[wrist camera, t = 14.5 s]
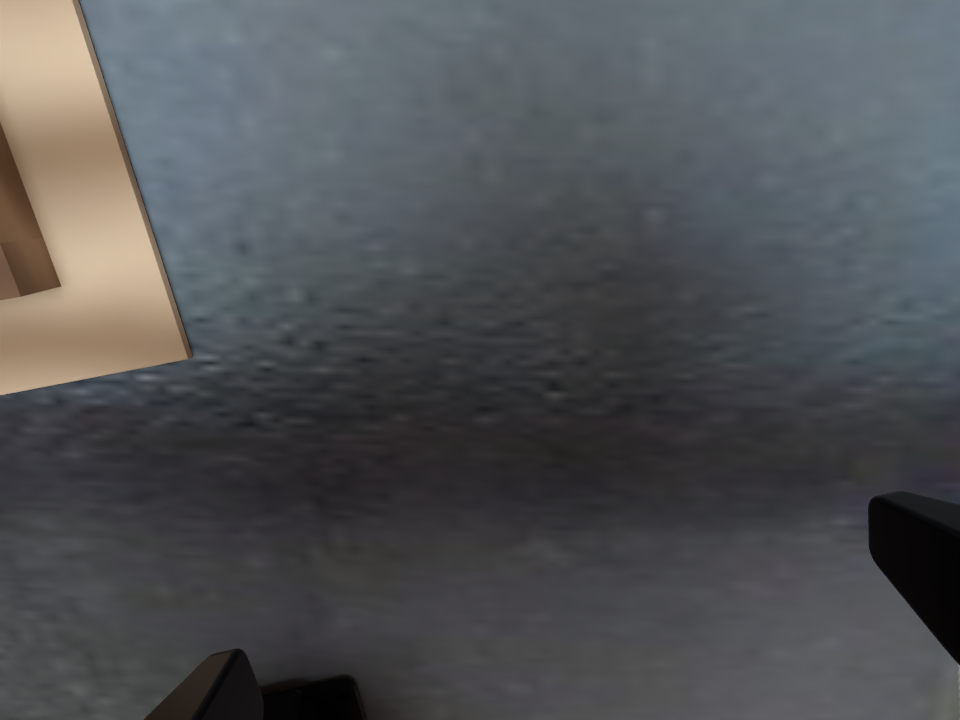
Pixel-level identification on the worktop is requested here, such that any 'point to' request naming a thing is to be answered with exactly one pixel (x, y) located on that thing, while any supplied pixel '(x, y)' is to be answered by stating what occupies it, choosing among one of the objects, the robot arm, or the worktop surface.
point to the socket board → (71, 215)
